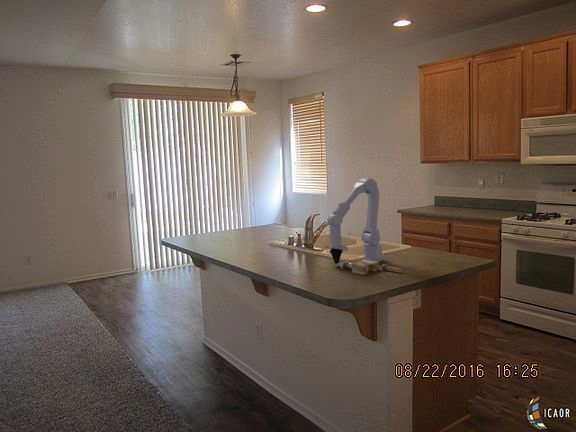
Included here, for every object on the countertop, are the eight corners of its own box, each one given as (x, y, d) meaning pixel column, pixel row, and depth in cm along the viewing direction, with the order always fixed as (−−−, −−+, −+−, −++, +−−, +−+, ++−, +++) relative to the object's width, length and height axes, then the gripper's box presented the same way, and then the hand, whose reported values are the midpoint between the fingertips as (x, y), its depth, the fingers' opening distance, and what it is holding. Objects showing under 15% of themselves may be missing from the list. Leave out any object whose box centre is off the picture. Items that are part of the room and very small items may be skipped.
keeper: (380, 269, 233) (380, 265, 233) (384, 268, 235) (384, 264, 235) (399, 273, 225) (399, 268, 225) (402, 271, 227) (402, 267, 227)
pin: (340, 268, 242) (340, 262, 242) (348, 266, 246) (347, 260, 245) (352, 270, 236) (352, 264, 235) (360, 268, 239) (360, 262, 239)
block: (368, 267, 240) (367, 259, 239) (379, 269, 234) (378, 261, 234) (352, 272, 232) (351, 264, 231) (363, 274, 227) (362, 266, 226)
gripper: (320, 237, 249) (321, 262, 250) (340, 239, 238) (341, 266, 239) (329, 235, 253) (330, 260, 255) (350, 237, 242) (351, 263, 244)
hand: (336, 263), depth 248 cm, fingers closed
